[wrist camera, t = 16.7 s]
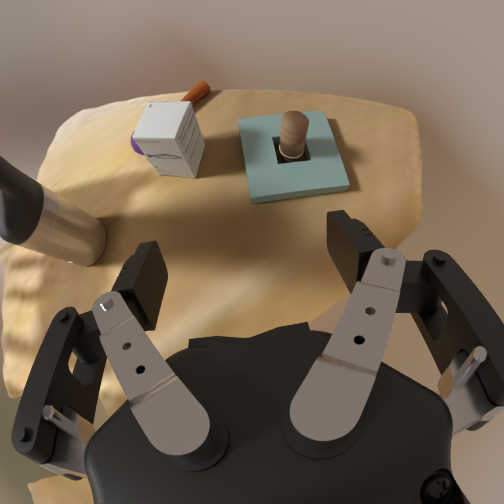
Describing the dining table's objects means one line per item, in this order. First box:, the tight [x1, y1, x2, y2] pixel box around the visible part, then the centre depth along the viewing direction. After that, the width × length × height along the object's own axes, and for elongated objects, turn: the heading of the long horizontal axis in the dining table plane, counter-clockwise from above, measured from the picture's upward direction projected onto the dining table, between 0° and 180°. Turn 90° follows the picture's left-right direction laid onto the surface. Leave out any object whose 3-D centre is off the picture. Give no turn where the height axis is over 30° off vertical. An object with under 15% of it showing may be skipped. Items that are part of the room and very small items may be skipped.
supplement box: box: [132, 101, 205, 178], centre depth 40 cm, size 7×7×13 cm
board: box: [238, 111, 350, 204], centre depth 44 cm, size 16×16×2 cm
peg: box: [279, 111, 309, 163], centre depth 40 cm, size 4×4×10 cm
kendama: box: [131, 81, 210, 155], centre depth 46 cm, size 6×6×20 cm
